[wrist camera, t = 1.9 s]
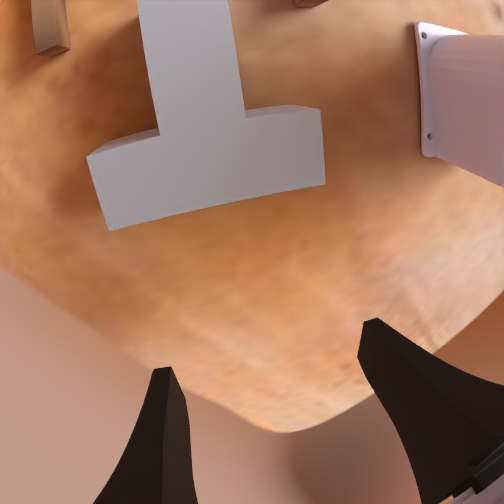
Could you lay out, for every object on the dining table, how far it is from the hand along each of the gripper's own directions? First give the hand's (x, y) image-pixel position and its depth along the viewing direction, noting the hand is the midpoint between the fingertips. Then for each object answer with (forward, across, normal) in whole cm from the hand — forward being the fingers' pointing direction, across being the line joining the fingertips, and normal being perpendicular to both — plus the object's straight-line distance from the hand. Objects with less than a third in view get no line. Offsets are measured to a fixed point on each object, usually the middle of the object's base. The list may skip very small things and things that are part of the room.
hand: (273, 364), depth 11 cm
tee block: (+10, +1, -9) cm, 13 cm away
